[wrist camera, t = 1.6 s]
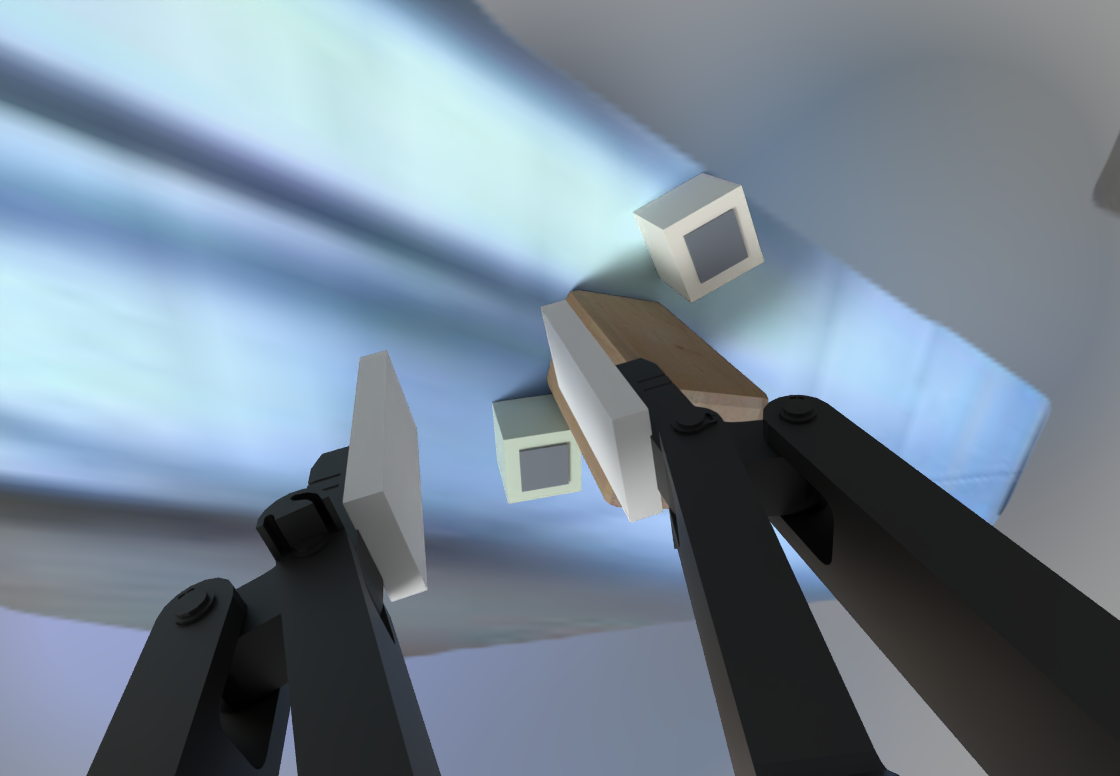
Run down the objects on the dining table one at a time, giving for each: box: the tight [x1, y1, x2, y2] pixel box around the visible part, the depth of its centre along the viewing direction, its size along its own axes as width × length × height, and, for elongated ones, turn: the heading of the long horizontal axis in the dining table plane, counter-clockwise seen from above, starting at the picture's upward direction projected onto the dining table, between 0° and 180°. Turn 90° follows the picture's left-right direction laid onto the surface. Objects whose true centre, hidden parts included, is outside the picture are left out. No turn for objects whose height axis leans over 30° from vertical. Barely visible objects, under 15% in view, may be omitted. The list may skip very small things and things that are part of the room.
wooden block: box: [547, 290, 768, 509], centre depth 49 cm, size 10×10×20 cm
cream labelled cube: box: [633, 173, 764, 303], centre depth 51 cm, size 7×7×7 cm
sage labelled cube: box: [492, 394, 581, 504], centre depth 57 cm, size 7×7×7 cm
